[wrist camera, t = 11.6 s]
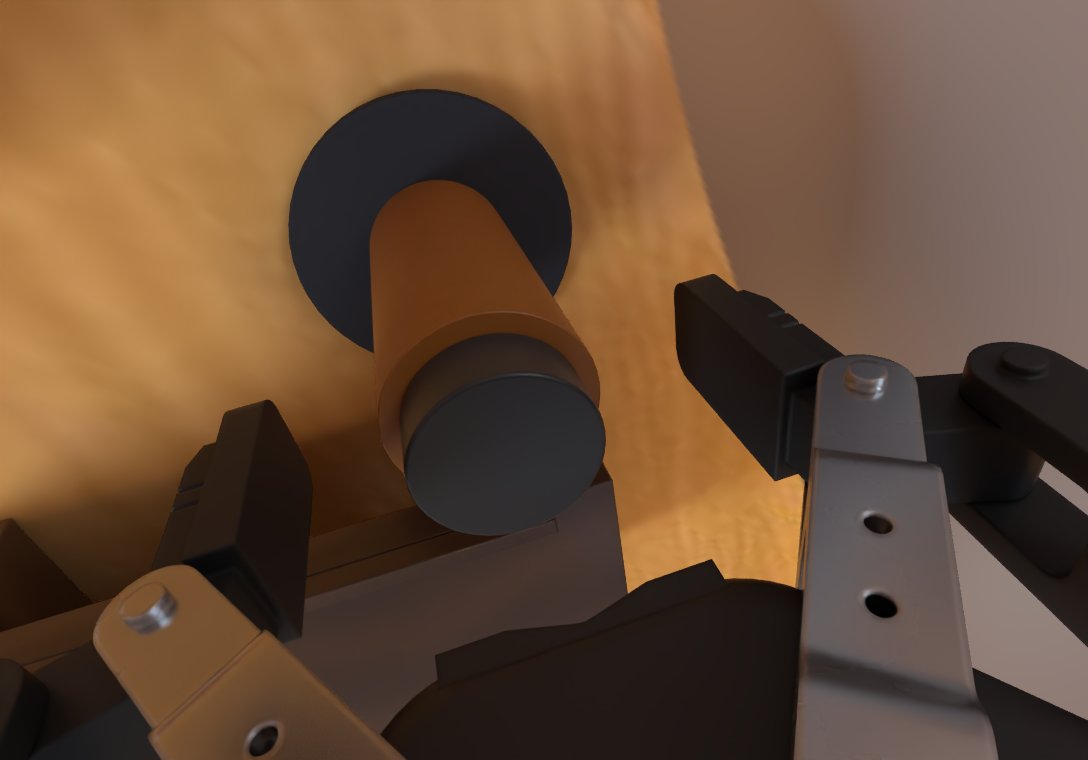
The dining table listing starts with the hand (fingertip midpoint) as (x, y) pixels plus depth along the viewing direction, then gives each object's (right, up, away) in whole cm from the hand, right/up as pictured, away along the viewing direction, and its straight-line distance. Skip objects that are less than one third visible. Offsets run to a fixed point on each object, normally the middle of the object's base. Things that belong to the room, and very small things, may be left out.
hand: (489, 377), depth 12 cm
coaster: (-3, +5, +8) cm, 10 cm away
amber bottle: (-2, +4, +8) cm, 9 cm away
